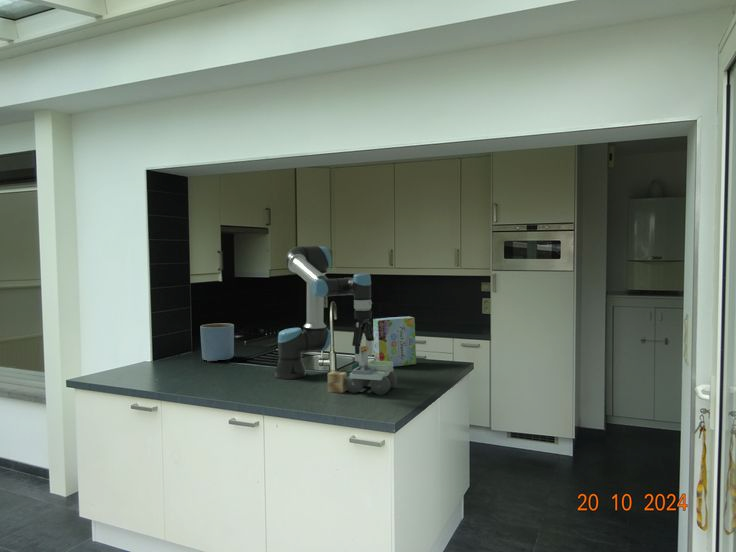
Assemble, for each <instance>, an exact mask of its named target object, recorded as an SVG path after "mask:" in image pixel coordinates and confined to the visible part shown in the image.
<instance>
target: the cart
mask: <svg viewBox="0 0 736 552" xmlns="http://www.w3.org/2000/svg"><path fill="white" fill-rule="evenodd" d="M351 371H352V373H350V375H349V376H348V377H347V378H346V380H345V387H346V389H347V390H346V391H348V392H349V393H351V394H356V393H359V391H362V390H363V388H365V387H367V386H368V385H370V389H371V391H372V392H373V393H374V394H376V395H378V396H382V395H385V394H387V392H388V391H390V390H391V389H392V388H394V387H395V386H396V385H397V383H398V378H397V374H396V373H395V371H394V367H392V368H391V369H390V370H388V371H387V372H385V371H376V368H374V367H368V371H363V370H359V367H357V368H355V369H353V370H352V369H351Z"/></svg>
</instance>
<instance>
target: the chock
mask: <svg viewBox="0 0 736 552" xmlns="http://www.w3.org/2000/svg"><path fill="white" fill-rule="evenodd" d="M346 378H347V375H346V372H335V371H330V372H328V373H327V393H328V392H329V393H340V394H343V393H345V392H346V391H348V390H347V389H346V387H345V380H346Z"/></svg>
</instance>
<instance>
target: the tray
mask: <svg viewBox="0 0 736 552" xmlns="http://www.w3.org/2000/svg"><path fill="white" fill-rule="evenodd" d="M368 367H374V368H376V371H385V372H387V371H388V370H390V369H391V368H392V367H393V361H375V360H368ZM393 368H394V367H393Z"/></svg>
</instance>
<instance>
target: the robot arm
mask: <svg viewBox="0 0 736 552" xmlns="http://www.w3.org/2000/svg"><path fill="white" fill-rule="evenodd" d="M284 262H285V263H284V264H285V265H286V268H287V269H288V270H289V271H290V272H292V273H295V274H297V275H298V276H299V277H301V279H303V280H304V282H306V322H305V324H304V325H303V330H302V328H300V327H291V328H285V329H283V330H281V331H279V332H278V335H277V345H278V346H277V347H278V348H277V349H278V354H277V355H278V362H277V366H276V369H275V373H274V375H275V377H276V378H278V379H281V380H283V379H284V380H289V379H290V380H291V379H301V378H304V377H306V376H307V371H306V367H305V364H304V362H303V361H304V360H303V354H309V353H320V352H323V351H324V352H325V351H327V350H328V348H329V347H330V344H331V340H332V336H331V331H330V329H328V328H327V325H326V324H325V322H324V311H325V310H324V309H325V308H324V307H325V306H324V305H325V304H324V297H334V296H353V308H354V312H353V316H354V319H355V320H357V322H354V329H353V331H354V332H353V338H352V342H351V343H352V344H351V345H352V347H354V362H359V361H360V362H361V361H362V359H361V346H362V345H361V344H362V339H363V336H365V346H367V347H368V350H367V351H368V357H369V356H370V357H371V356H373V342H374V331H373V327H372V314H373V312H372V304H373V302H372V280H371V279H372V278H371V274H369V273H354V274H353V277H344V278H343V277H342V278H339V277H338V278H328V277H327V276H326V274H327V273H328V271H327V270H329V269H330V268H331V266H332V256H331V253H330V251H329V249H328V248H327V247H326V246H322V245H320V246H319V245H313V246H312V245H310V246H309V245H308V246H307V245H306V246H305V245H304V246H303V245H302V246H300V245H299V246H295V247H292V248H291V249H289V250H288V251H287V253H286V254H285V257H284ZM372 341H373V342H372Z"/></svg>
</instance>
